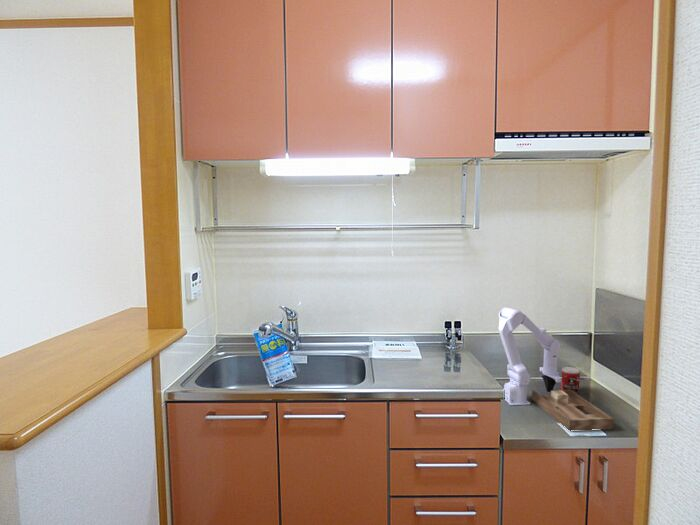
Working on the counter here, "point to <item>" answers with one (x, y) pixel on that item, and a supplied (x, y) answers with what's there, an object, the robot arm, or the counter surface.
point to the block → (559, 397)
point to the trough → (574, 412)
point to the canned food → (570, 379)
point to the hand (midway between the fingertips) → (549, 391)
